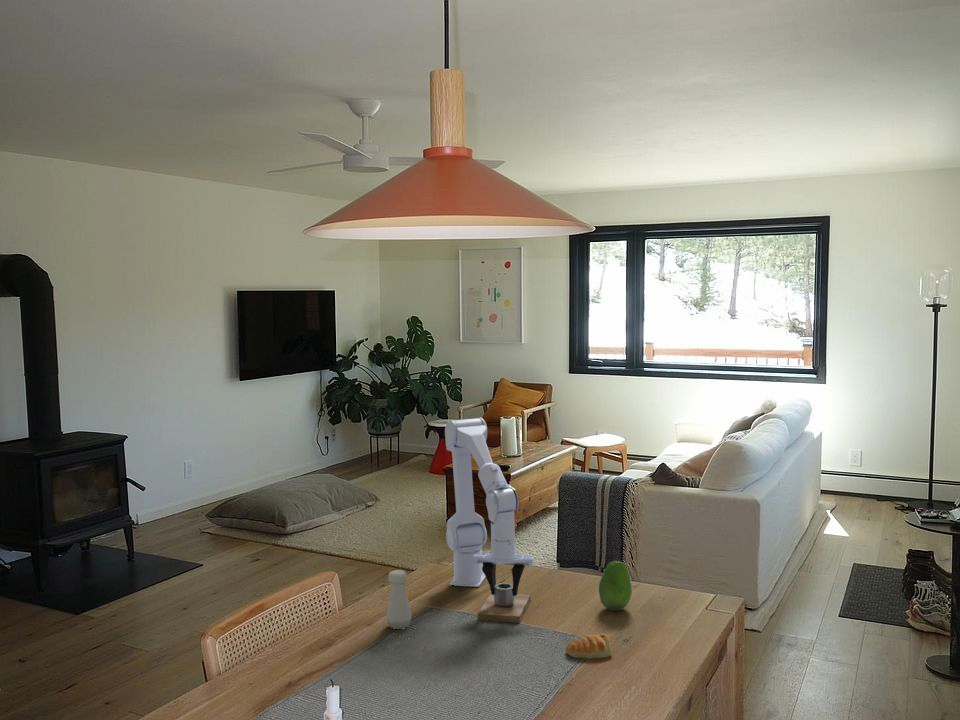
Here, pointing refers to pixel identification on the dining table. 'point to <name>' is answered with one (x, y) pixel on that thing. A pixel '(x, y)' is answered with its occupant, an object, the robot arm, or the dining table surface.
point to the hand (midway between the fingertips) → (504, 593)
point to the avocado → (615, 586)
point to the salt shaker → (398, 601)
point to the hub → (504, 594)
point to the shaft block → (504, 609)
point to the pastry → (590, 647)
